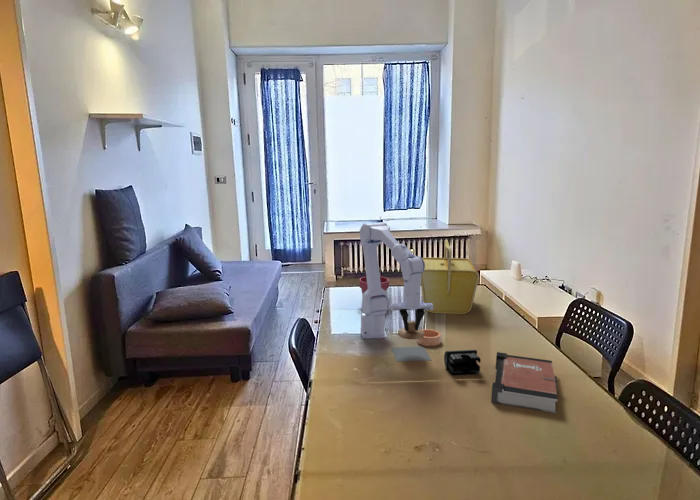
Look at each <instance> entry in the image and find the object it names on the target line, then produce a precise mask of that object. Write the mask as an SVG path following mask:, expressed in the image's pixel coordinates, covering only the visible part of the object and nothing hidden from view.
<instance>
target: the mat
mask: <svg viewBox="0 0 700 500" xmlns="http://www.w3.org/2000/svg"><path fill="white" fill-rule="evenodd" d="M390 349H391V351H392V354H393V356H394V358H395V361H396V362H419V361H420V362H423V361H424V362H426V361H427V362H429V361H432V359H431V357H430V355H429V353H428V352H427V350H426V348H425V346H399V347H398V346H396V347H390Z"/></svg>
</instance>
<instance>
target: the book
mask: <svg viewBox="0 0 700 500" xmlns="http://www.w3.org/2000/svg"><path fill="white" fill-rule="evenodd" d="M495 358H496V360H495V370H496V371H495V373H496V374H495V380H494V382H492V387H491V398H490V399H491V400H490V402H491V403H493V404H498V405H505V406H511V407H518V408H521V409H527V410H534V411H539V412H546V413H551V414H557V407H556V403H557V402H558V401H559V400H558V392H557V390H558V387H557V386H558V380H557V379H558V378H557V376H556V375H555V373H554V367H553V361H552V360H550V359H542V358H541V359H540V358H534V357H528V356H527V357H525V356H519V355H511V354H508V353H505V352H499V351H496V357H495Z"/></svg>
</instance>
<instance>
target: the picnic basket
mask: <svg viewBox="0 0 700 500" xmlns="http://www.w3.org/2000/svg"><path fill="white" fill-rule="evenodd" d="M443 250H444V253H443V257H422V259H423V260H424V263H425V270H424V272H423V273H421V294H422V300H423V302H422V303H432V304H433V310H426V311H427V312H429V313H432V314H447V315H448V314H451V315H453V314H454V315H465V314H467V313H469V312H470V311H471V310H472V308H473V303H474V299H475V296H476V291H477V287H478V284H479V279H480V274H479V272H478V271H477V270H476V268H475V267H474V265H473V262H472V261H471V259H469V258H466V257H465V258H463V257H462V258H460V257H452V256H453V255H452V252H453V251H452V247H451V246H450V243H449V241H448V239H445V240H444V249H443Z"/></svg>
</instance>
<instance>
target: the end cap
mask: <svg viewBox="0 0 700 500" xmlns="http://www.w3.org/2000/svg"><path fill="white" fill-rule="evenodd" d="M443 361H444V363H443V364H444V367H445V369H446V370H447V371H448V372H449V374H450V376H454V377H455V376H472V375H473V376H475V375H479V374H480V372H481V366H480V364H478V363H481V358H480V356H478V350H477V349H461V350H446V351H445V352H444V355H443Z"/></svg>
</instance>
